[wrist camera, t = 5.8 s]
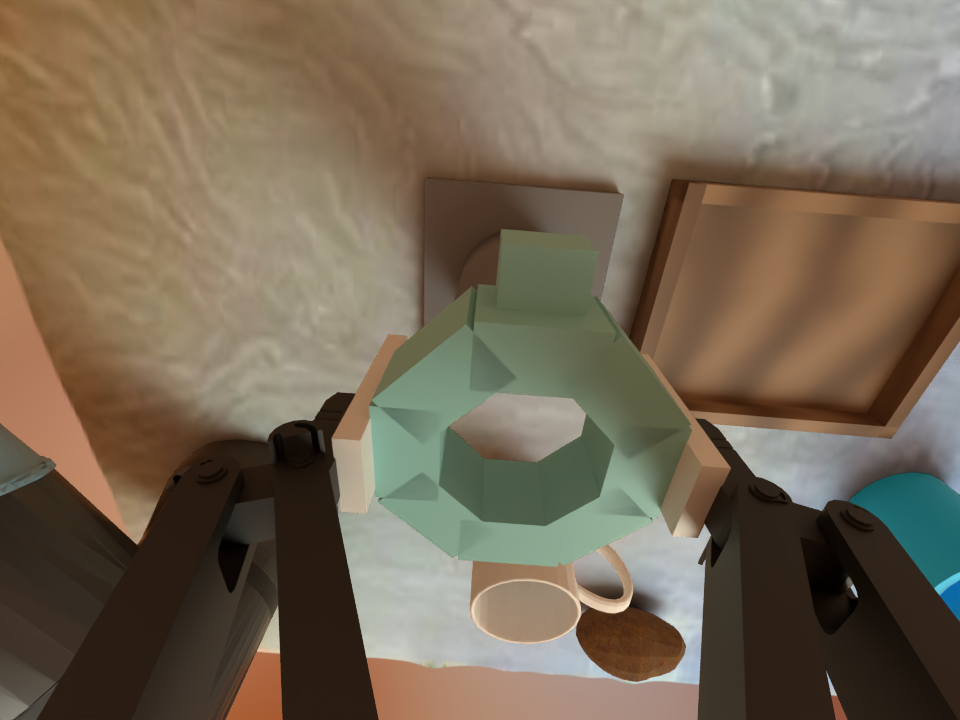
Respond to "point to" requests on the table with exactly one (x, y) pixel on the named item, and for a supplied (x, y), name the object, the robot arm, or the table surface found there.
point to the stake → (494, 206)
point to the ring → (527, 371)
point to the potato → (630, 643)
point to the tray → (801, 305)
